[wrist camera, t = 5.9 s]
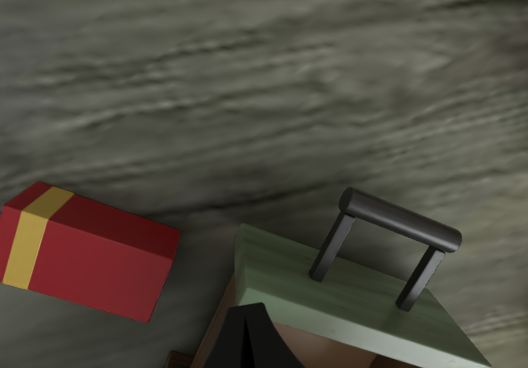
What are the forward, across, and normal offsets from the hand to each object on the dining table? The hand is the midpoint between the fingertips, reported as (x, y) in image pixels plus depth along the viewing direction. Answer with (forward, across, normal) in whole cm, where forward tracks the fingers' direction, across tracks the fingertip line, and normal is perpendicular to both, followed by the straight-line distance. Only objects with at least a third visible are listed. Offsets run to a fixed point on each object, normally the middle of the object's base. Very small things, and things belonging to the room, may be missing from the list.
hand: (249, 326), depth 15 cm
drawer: (+8, -3, +6) cm, 10 cm away
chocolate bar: (+9, +8, -1) cm, 12 cm away
